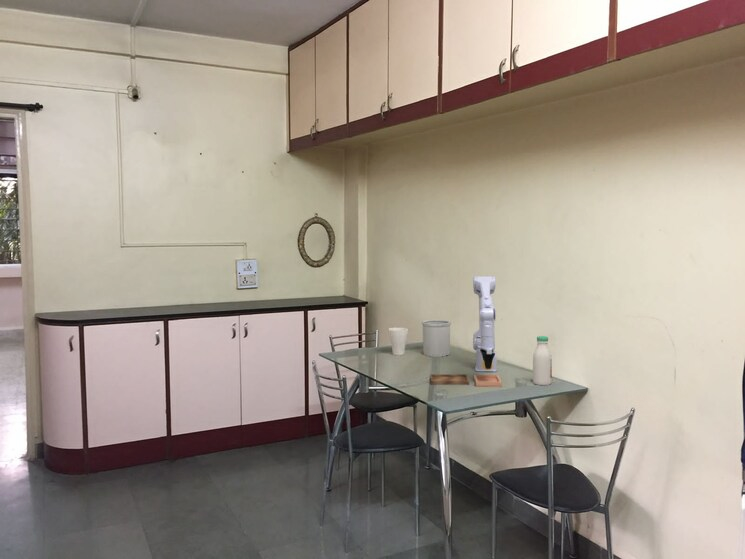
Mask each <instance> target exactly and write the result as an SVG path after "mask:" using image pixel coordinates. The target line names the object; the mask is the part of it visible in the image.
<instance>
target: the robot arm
mask: <svg viewBox="0 0 745 559" xmlns="http://www.w3.org/2000/svg"><path fill="white" fill-rule="evenodd" d="M472 282H473V284H472V287H473V294H475V295H477V296H478V310H479V311H478V315H479V316H478V318H479V319H478V323H479V324H478V327H479V328H478V330H477V331H475V332H474V333H473V338H472V348H473V350H474V351H475V364H476V365H475V366H474V370H475V371H476V372H492V373H493V372H497V371H498V370H497V369H498V368H497V366H498V360H497V359H498V358H497V357H498V356H497V351H496V350H495V348H496V337H495V322H496V317H497V315H496V312H497V311H496V308H495V305H494V299H493V297H492V296H491V295H493V294H494V293H495V290H496V276H495V275H489V276H488V275H486V276H485V275H480V276H479V275H477V276H476V275H474V276H473V278H472ZM483 360H484V363H485V368H486V369H491V366H492V362H493V367H492V369H491V370H485V369H483V367H482V362H483Z"/></svg>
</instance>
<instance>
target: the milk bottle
mask: <svg viewBox="0 0 745 559" xmlns="http://www.w3.org/2000/svg"><path fill="white" fill-rule="evenodd" d="M548 343H549V336H545V335H540V336H539V335H538V336H537V337H536V347H535V350H534V352H533V356H532V382H533V384H535V385H539V386H549V385H551V384H552V382H553V381H552V380H553V379H552V374H553V373H552V372H553V371H552V370H553V369H552V368H553V367H552V366H553V365H552V364H553V363H552V357H553V356H552V354H551V350H550V347H549V344H548Z"/></svg>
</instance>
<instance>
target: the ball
mask: <svg viewBox="0 0 745 559" xmlns="http://www.w3.org/2000/svg"><path fill="white" fill-rule="evenodd" d="M482 367H483V369H485V370H491V369H492V367H493V362H492V366H491V369H486V368H485V363H484V360H483V362H482Z"/></svg>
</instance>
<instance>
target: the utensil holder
mask: <svg viewBox="0 0 745 559" xmlns="http://www.w3.org/2000/svg"><path fill="white" fill-rule="evenodd" d="M451 324H452V323H451V321H450V320H448V319H440V318H438V319H437V318H435V319H431V318H430V319H424V320H422V321H421V325H422V344H423V345H422V347H423V355H424V356H427V357H430V356H431V357H433V358H434V357H435V358H442V356H443V357H447V356H446V355H448V356H450V354H451ZM431 357H430V358H431Z"/></svg>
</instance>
